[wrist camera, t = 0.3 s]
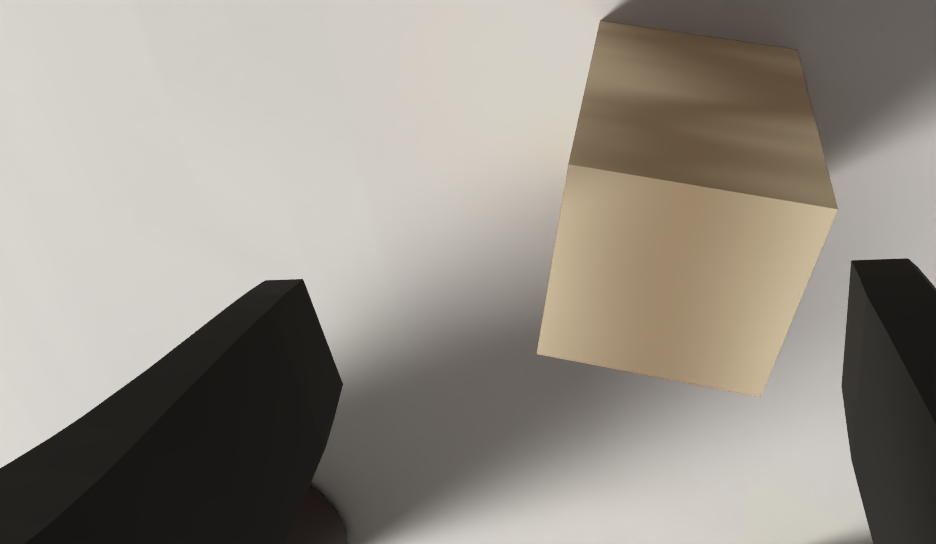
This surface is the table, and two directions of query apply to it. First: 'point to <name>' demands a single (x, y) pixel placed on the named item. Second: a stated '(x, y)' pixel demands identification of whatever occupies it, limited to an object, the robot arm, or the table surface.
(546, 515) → the table surface
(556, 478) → the table surface
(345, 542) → the bottle
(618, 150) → the peg
